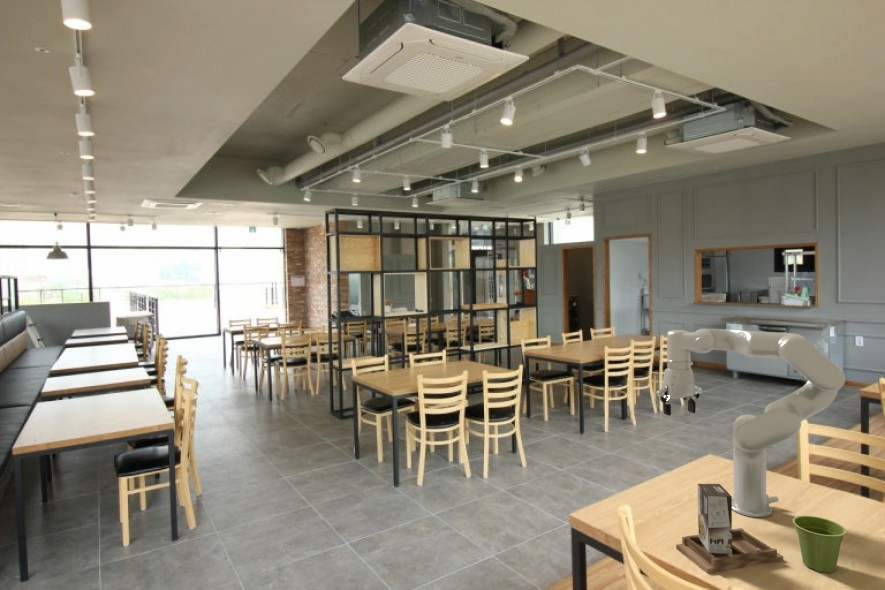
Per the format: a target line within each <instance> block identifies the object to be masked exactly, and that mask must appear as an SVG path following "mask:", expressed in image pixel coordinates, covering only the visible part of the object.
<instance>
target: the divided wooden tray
mask: <svg viewBox="0 0 885 590" xmlns="http://www.w3.org/2000/svg"><path fill="white" fill-rule="evenodd" d="M681 542H682V543H678V544H677V543H676V544H675V545H676V546H675V548H676V550H677V551H679V553H681V554H683V556H685V557H686V558H687V559H689V560H690V561H691V562H692V563H694V564H695V565H696V566H697V567H698V568H700V569H701V570H703V572H705V573H706V574H712V573H716V572H722V571H729V570H734V569H735V570H736V569H740V568H741V569H742V568H746V567H753V566H759V565H764V564H769V563H777V562H782V561H784V556H783V555H782V554H781V553H779V552H778V549H776V548H772V547H771V546H769V545H767V544H766V543H764V542H762V540H759V539H758V538H756V537H754V536H753V535H751V534H749V533H748V532H746V531H745V530H744V528H742V527H740V528H732V553H728V554H721V553H709V552H708V551H707V549H706V548H705V546H704V545H703V543H702V542H701V540H700V539H699V534H693V535H688V536H682V539H681Z"/></svg>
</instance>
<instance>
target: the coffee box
mask: <svg viewBox="0 0 885 590" xmlns="http://www.w3.org/2000/svg"><path fill="white" fill-rule="evenodd" d="M732 499H733V496H732V495H731V494H730V493H729V492H728V491H727V490H726V489H725V487H724V486H722V485H721V483H697V514H698V515H697V521H698V523H697V524H698V535H699V539H700V540H701V542H702V543H703V545H704V546H705V548H706V549H707V551H708V552H709V553H721V554H728V553H732V529H733V522H732V521H733V513H732V512H733V510H732Z"/></svg>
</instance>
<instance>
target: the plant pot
mask: <svg viewBox="0 0 885 590" xmlns="http://www.w3.org/2000/svg"><path fill="white" fill-rule="evenodd" d="M792 523H793V524H794V525H795V530H796V534H797V537H798V541H799V548H800V553H801V558H802V563H803V565H804V566H806V567H808V568H809V569H813V570H815V571H816V570H817V572H819V571H821V572H820V573H827V572H828V573H832V572H833V573H834V572H835V570H836V569H837V564H838V559H839V554H840V548H841V546H842V545H841V544H842V542H843V540H844V536H845V535H846V534H847V529H846V527H844V526H843V525H841V524H840V523H838V522H835V521H833V520H831V519H827V518H824V517H820V516H814V515H797V516H795V517H793V518H792Z"/></svg>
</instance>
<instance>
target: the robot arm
mask: <svg viewBox="0 0 885 590" xmlns="http://www.w3.org/2000/svg"><path fill="white" fill-rule="evenodd" d="M712 350H713V351H714V350H715V351H727V352H733V353H736V354H740V355H741V356H744V357H745V356H746V357H749V358H762V359H763V358H764V359H776V360H784V361H785V362H786V363H787V364H788V365H789V366H791V367H792V369H794V370H795V371H796V372H797V373H798V374H799V375H801V376H802V377H804V379H805V380H806V383H805V384H804V385H803V386H801V387H800V388H798V389H796V390H795V391H793V392H791V393H789V394H787V395H785V396H783V397H782V398H779V399H777V400H775V401H772V402H769V404H767V405H766V407H765V408H764V411H763V413H762V414H760V415H758V416H756V415H753V414H742V415H740V416H738V417H737V418H736V419H735V420H734V422H733V424H732V438H733V439H732V441H733V442H732V443H733V445H732V447H733V448H732V449H733V451H732V454H733V455H732V456H733V457H732V458H733V461H732V462H733V464H732V465H733V466H732V467H733V470H732V471H733V477H732V478H733V480H732V481H733V498H732V512H735V513H737V514H740V515H744V516H747V517H751V518H752V517H753V518H765V517H769V516H771V515H772V514H773V509H772V507H771V506H770V505H771V504H772V503H778V502H779V498H778V496H777V495H772V496H769V495H768V494H767V449H769V448H771V447H774V446H776V445H778V444H780V443H782V442H785V441H787V440H788V439H790V438H792V437H793V436H795V435H797V434H798V432H799V431H800V429H801V427H802V422H803V421H805V420H807V419H809V418H811V417H813V416H815V415H817V414H819V413H820V412H822V411H823V410H825V409H826V408H828V407H829V406H830V405H831V404H832V403H833V402H834V400H835V399H836V398H837V395H838V393H839V390H840V389H841V388H842V387H843V386H844V385H845V382H846V375H845V373H844V371H843V369H841V367H840V366H839V365H838V364H837V363H836V362H834V361H833V360H831V359H829V358H828V357H827V356H825V355H824V354H823V353H821V351H819V350H818V349H816V347H815V346H814V345H812V344H811V343H810V342H809V341H808V340H807V339H806V337H804V336H803V335H801V334H798V333H794V332H793V333H792V332H775V331H756V330H755V331H753V330H739V329H738V330H736V329H726V328H724V329H723V328H722V329H721V328H699V329H697V330H696V331H690V332H689V331H688V330H685V329H672V330H669V331H668V332H667V334H666V356H667V357H666V358H667V359H666V363H667V364H666V365H667V366H666V368H665V369H664V374H663V379H662V387H661V388H660V389H657V391H656V392H655V393H656V396H657V397H658V399H659V400H660V401H661V402H662V403H663V404H662V408H663V414H664V415H665V416H666V415H667V416H671V415H672V405H671V401H673V400H674V399H683V398H685V399H686V398H687V399H688V400H687V411H688V412H690V413H692V414H696V408H697V407H696V403H697V402H698V399H699V397H700V396H701V393H702V391H703V389H702V388H701V387H700V386H697V385H696V383H695V377H694V371H693V369H692V368H691V366H693V364H694V362H693V361H692V358H691V354H692V353H698V354H707V353H709V352H711V351H712ZM691 352H692V353H691Z"/></svg>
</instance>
